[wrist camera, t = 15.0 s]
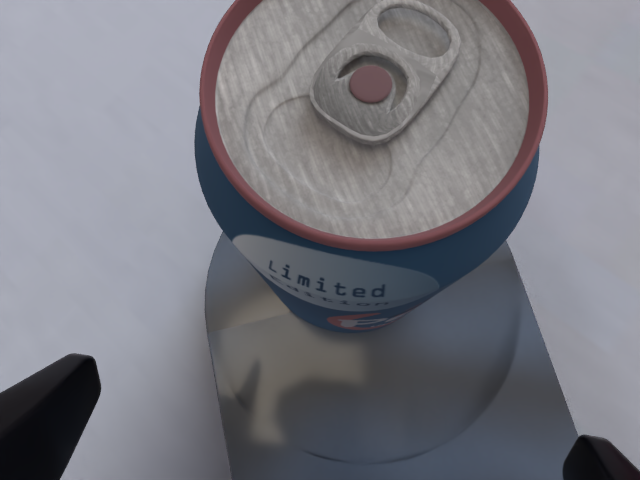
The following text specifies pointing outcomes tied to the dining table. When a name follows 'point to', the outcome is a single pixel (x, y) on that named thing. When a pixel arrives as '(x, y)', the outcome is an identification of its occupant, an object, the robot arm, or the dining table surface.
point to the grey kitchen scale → (386, 384)
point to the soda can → (368, 146)
